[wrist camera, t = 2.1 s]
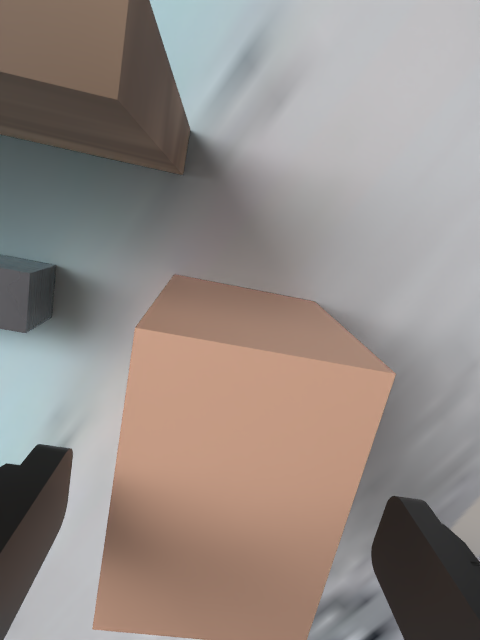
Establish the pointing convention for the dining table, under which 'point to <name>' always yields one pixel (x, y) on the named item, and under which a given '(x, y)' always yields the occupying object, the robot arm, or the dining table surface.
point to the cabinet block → (234, 464)
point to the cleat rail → (25, 293)
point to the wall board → (91, 81)
